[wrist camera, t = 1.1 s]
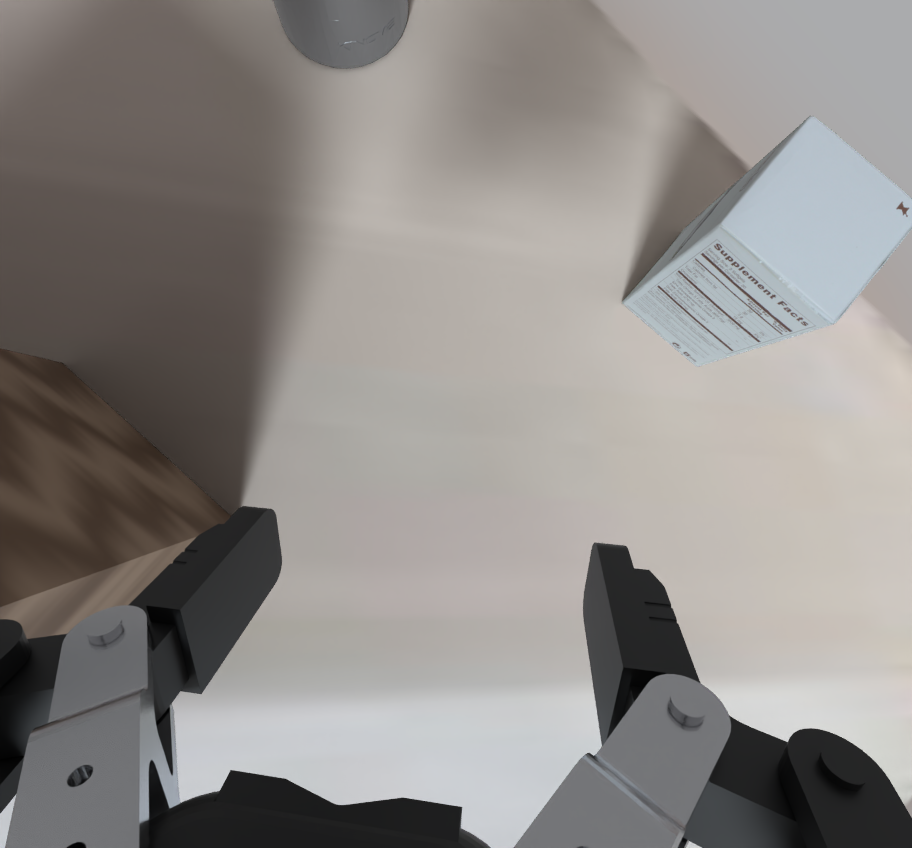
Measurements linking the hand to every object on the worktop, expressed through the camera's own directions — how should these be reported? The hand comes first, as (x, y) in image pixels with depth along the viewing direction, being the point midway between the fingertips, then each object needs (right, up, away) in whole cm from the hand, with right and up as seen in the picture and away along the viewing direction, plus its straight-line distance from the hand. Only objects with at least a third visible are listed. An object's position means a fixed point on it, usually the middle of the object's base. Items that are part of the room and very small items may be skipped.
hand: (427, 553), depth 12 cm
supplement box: (+17, +12, +23) cm, 31 cm away
